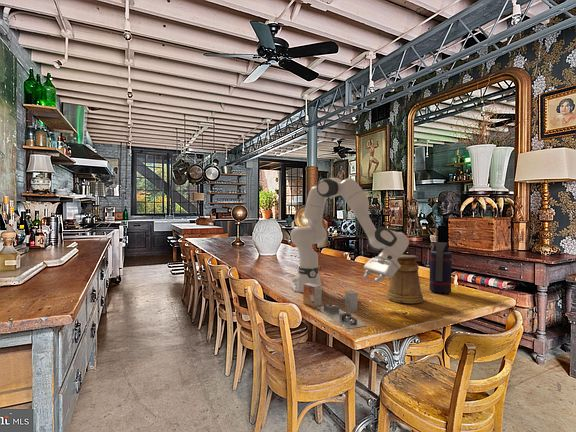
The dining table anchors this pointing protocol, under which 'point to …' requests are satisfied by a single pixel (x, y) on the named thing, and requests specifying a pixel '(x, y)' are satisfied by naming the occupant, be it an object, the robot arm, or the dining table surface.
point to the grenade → (440, 268)
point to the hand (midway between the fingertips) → (370, 279)
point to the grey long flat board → (340, 316)
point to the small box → (312, 294)
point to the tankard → (405, 282)
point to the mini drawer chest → (351, 301)
